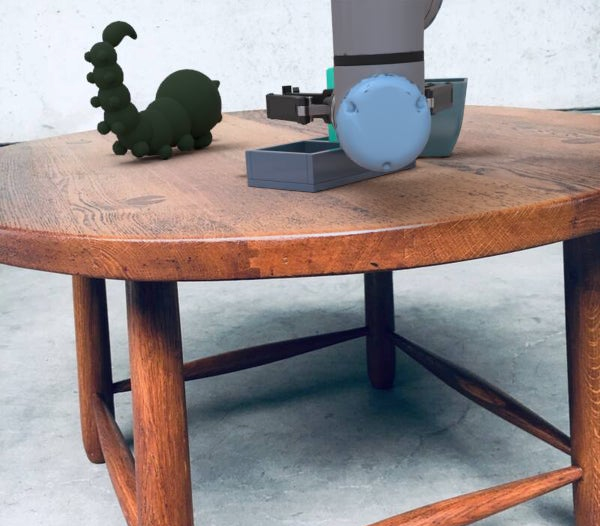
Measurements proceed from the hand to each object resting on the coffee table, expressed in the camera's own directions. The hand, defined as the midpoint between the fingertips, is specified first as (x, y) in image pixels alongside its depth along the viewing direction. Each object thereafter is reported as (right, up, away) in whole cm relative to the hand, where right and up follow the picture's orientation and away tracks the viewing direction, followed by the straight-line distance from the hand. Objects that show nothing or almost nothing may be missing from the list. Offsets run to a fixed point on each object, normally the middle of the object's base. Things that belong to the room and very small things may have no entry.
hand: (354, 95), depth 105 cm
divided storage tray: (-2, -10, -3) cm, 11 cm away
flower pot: (+10, -5, +9) cm, 14 cm away
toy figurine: (-25, -1, +23) cm, 34 cm away
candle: (0, -8, 0) cm, 8 cm away
